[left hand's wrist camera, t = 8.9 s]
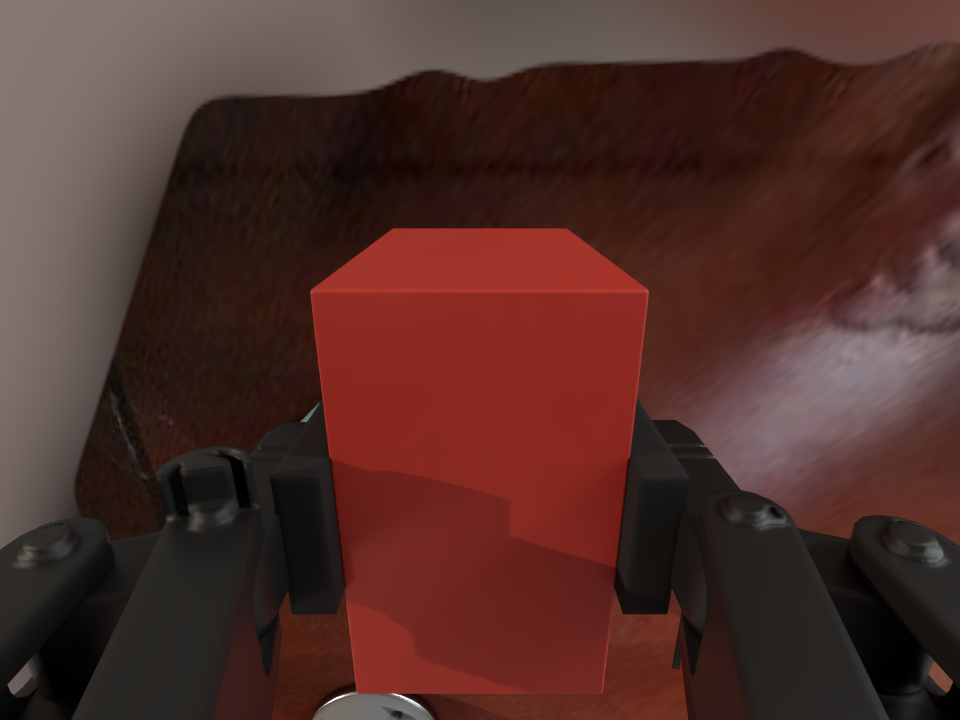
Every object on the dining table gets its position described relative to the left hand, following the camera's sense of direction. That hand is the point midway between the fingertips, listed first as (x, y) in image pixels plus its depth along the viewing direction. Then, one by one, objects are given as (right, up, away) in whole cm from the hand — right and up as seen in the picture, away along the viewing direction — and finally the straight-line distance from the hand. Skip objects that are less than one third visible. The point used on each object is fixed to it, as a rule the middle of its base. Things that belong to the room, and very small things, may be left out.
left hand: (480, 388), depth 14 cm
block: (0, +1, +2) cm, 2 cm away
